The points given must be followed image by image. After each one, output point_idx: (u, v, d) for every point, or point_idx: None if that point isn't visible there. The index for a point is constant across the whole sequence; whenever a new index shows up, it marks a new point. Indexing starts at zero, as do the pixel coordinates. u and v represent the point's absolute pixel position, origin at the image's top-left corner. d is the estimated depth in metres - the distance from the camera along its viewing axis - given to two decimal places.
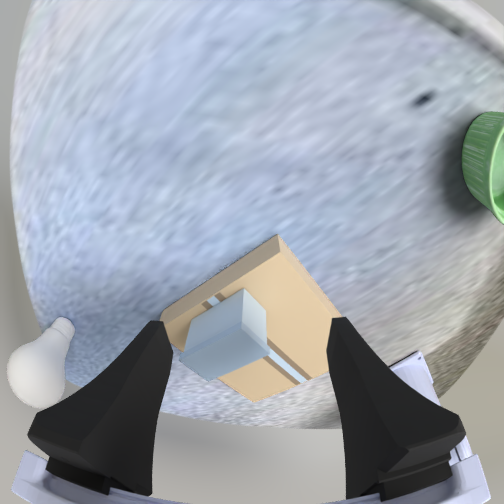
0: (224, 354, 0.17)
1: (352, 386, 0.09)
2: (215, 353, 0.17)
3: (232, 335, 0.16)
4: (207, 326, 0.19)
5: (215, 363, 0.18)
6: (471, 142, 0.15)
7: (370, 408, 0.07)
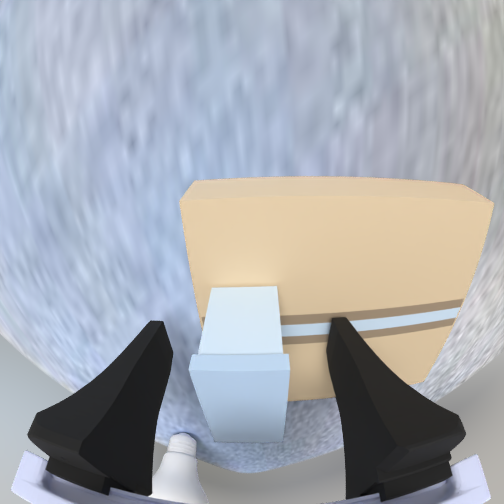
0: (236, 410, 0.09)
1: (352, 386, 0.09)
2: (227, 415, 0.09)
3: (199, 384, 0.08)
4: None
5: (249, 424, 0.09)
6: None
7: (370, 408, 0.07)
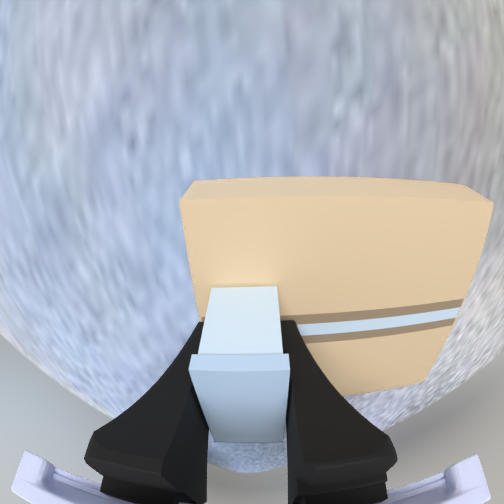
0: (236, 410, 0.09)
1: (288, 392, 0.09)
2: (226, 415, 0.09)
3: (199, 384, 0.08)
4: None
5: (249, 424, 0.09)
6: None
7: (294, 417, 0.07)
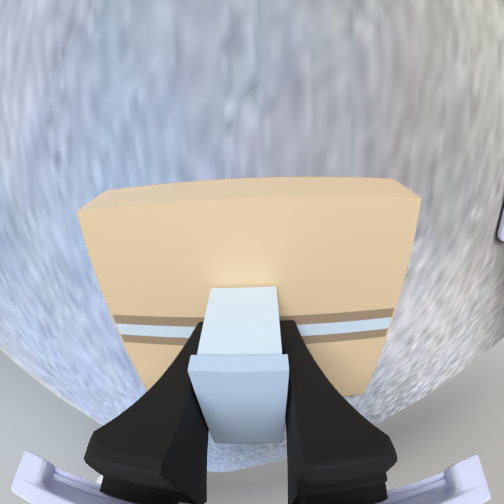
0: (235, 410, 0.09)
1: (288, 392, 0.09)
2: (226, 416, 0.09)
3: (198, 385, 0.08)
4: None
5: (249, 424, 0.09)
6: None
7: (294, 418, 0.07)
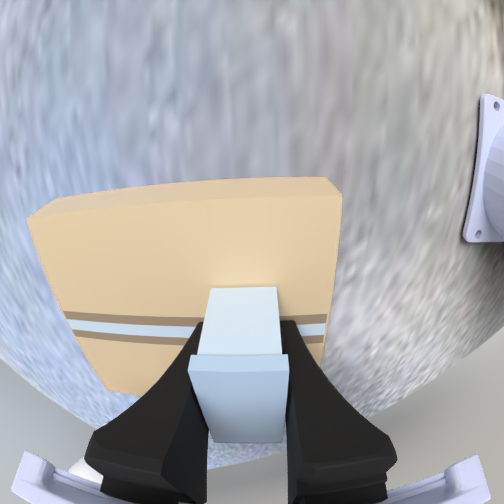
0: (235, 410, 0.09)
1: (288, 392, 0.09)
2: (226, 416, 0.09)
3: (198, 385, 0.08)
4: None
5: (249, 424, 0.09)
6: None
7: (294, 417, 0.07)
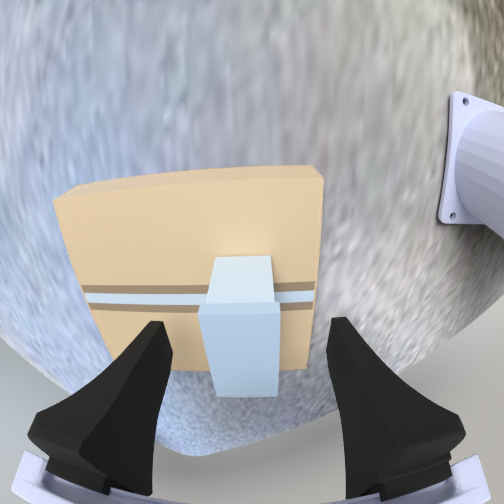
0: (236, 357, 0.11)
1: (352, 386, 0.09)
2: (228, 364, 0.11)
3: (205, 330, 0.10)
4: None
5: (248, 374, 0.11)
6: None
7: (370, 408, 0.07)
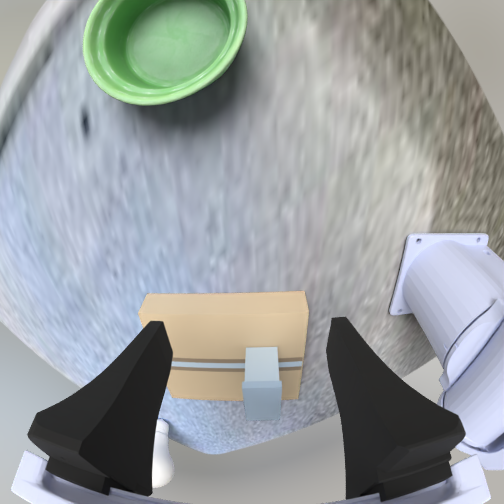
0: (259, 403, 0.20)
1: (352, 386, 0.09)
2: (254, 406, 0.20)
3: (245, 393, 0.19)
4: None
5: (264, 410, 0.20)
6: None
7: (370, 408, 0.07)
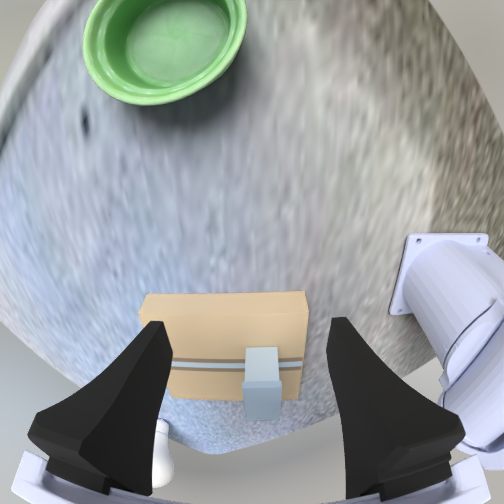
0: (259, 403, 0.20)
1: (352, 386, 0.09)
2: (254, 406, 0.20)
3: (245, 393, 0.19)
4: None
5: (264, 410, 0.20)
6: None
7: (370, 408, 0.07)
